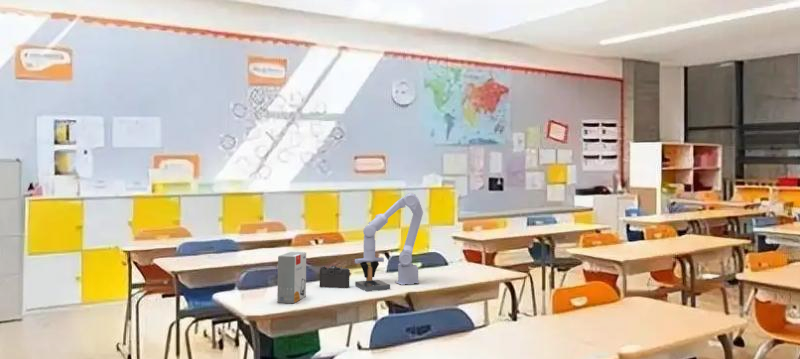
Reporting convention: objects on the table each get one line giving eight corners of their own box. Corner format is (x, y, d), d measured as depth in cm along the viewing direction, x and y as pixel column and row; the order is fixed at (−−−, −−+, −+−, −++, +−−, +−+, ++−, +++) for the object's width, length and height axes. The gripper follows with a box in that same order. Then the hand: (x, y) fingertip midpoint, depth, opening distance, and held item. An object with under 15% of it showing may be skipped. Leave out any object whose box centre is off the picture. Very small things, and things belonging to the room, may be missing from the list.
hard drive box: (294, 304, 288) (294, 256, 288) (277, 303, 290) (276, 256, 289) (306, 296, 304) (306, 251, 303) (290, 295, 305) (290, 251, 304)
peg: (371, 282, 338) (371, 266, 338) (373, 283, 335) (373, 267, 335) (365, 282, 337) (365, 266, 336) (367, 283, 334) (367, 267, 334)
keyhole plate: (378, 284, 333) (378, 279, 333) (390, 289, 320) (390, 284, 320) (355, 286, 328) (355, 281, 328) (366, 291, 315) (366, 286, 315)
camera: (352, 284, 333) (352, 263, 333) (348, 288, 323) (348, 267, 322) (323, 283, 335) (323, 263, 335) (318, 287, 324) (318, 266, 324)
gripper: (379, 247, 342) (379, 274, 342) (352, 249, 336) (352, 276, 336) (385, 249, 336) (385, 277, 336) (357, 251, 330) (357, 279, 330)
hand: (369, 277), depth 336 cm, fingers closed on peg, 3 cm apart
